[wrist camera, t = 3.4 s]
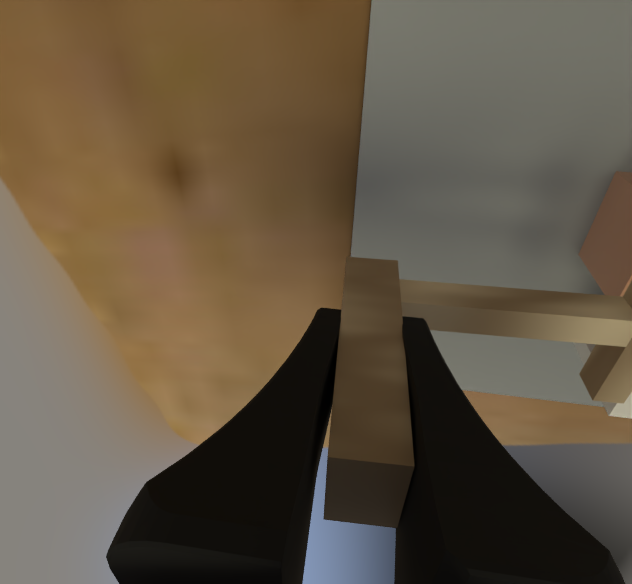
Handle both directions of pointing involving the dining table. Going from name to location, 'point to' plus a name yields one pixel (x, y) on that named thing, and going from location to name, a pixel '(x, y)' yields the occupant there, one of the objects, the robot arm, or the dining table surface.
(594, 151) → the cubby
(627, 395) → the rake
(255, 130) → the dining table surface
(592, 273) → the block
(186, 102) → the dining table surface
